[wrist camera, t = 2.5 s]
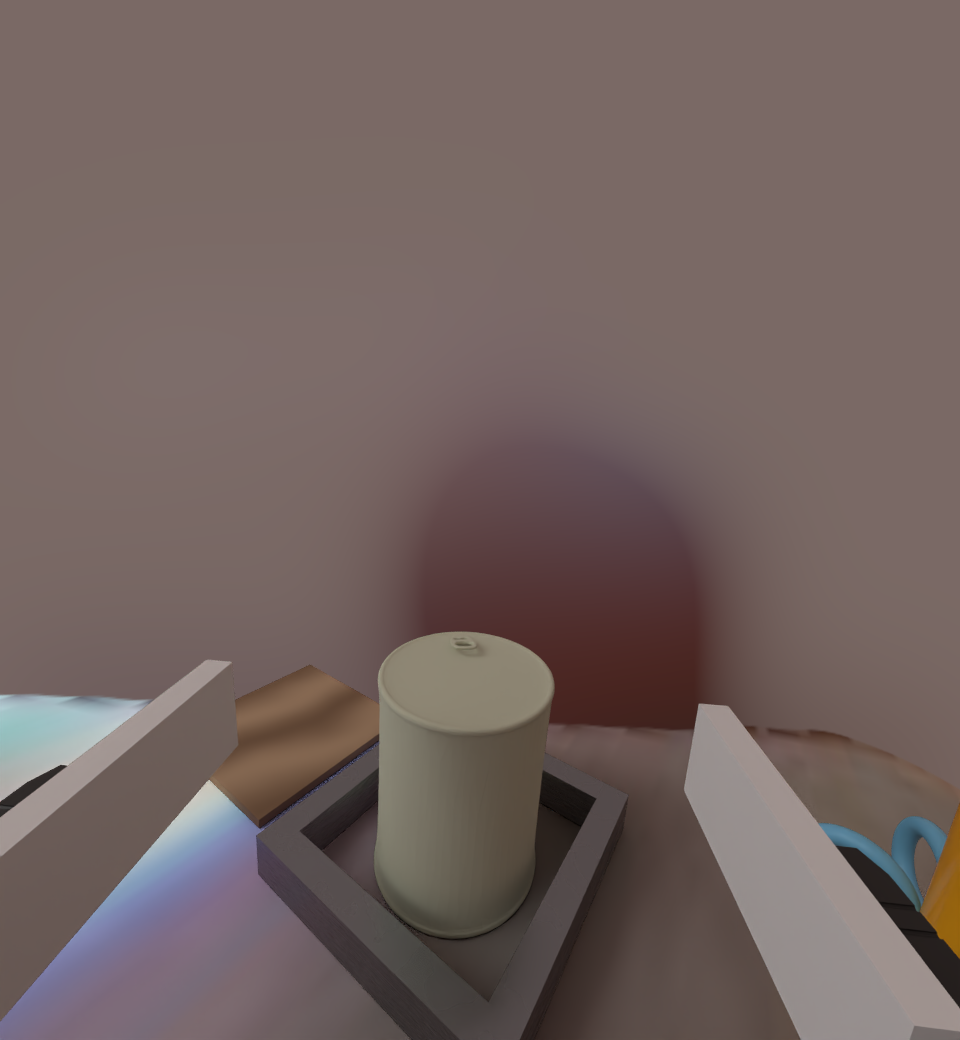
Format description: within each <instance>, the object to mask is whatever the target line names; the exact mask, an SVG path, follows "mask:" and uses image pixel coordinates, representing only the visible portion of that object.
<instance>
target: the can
mask: <svg viewBox="0 0 960 1040" xmlns="http://www.w3.org/2000/svg"><path fill="white" fill-rule="evenodd" d="M378 687H379V701H380V702H379V704H380V718H379V794H378V828H377V840H376V844H375V850H374V871H375V876H376V880H377V884H378V887H379V889H380V892H381V894H382V896H383V898H384V899H385V901H386V903H387V904H388V905H389V907H390V908H391V909H392V911H393V912H394V913H395V914H396V915H397V916H398V917H399V918H400V919H402V920H403V921H404V922H405V923H407V924H408V925H410V926H411V927H413V928H415V929H416V930H418V931H421V932H423V933H425V934H428V935H431V936H435V937H440V938H449V939H462V938H469V937H474V936H477V935H480V934H483V933H487V932H489V931H490V930H492V929H494V928H496V927H498V926H500V925H501V924H502V923H504V922H505V921H506V920H508V919H509V918H510V917H511V916H512V915H513V914H514V913H515V912H516V911H517V909H518V908H519V907H520V906H521V904H522V903H523V901H524V900H525V898H526V896H527V894H528V892H529V890H530V887H531V884H532V881H533V877H534V872H535V836H536V826H537V816H538V807H539V798H540V789H541V780H542V772H543V763H544V754H545V747H546V739H547V731H548V723H549V715H550V708H551V702H552V698H553V695H554V679H553V676H552V674H551V671H550V670H549V668H548V667H547V665H546V664H545V663H544V662H543V660H542V659H540V658H539V657H538V656H537V655H536V654H535V653H533V652H532V651H530V650H529V649H527V648H525V647H523V646H522V645H519V644H517V643H515V642H512V641H510V640H507V639H504V638H501V637H497V636H493V635H489V634H483V633H475V632H446V633H438V634H432V635H428V636H424V637H420V638H417V639H414V640H412V641H410V642H407V643H405V644H404V645H402V646H400V647H398V648H397V649H395V650H394V651H393V652H392V653H391V654H390V655H389V656H388V657H387V658H386V659H385V661H384V662H383V664H382V666H381V668H380V670H379V675H378Z"/></svg>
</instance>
